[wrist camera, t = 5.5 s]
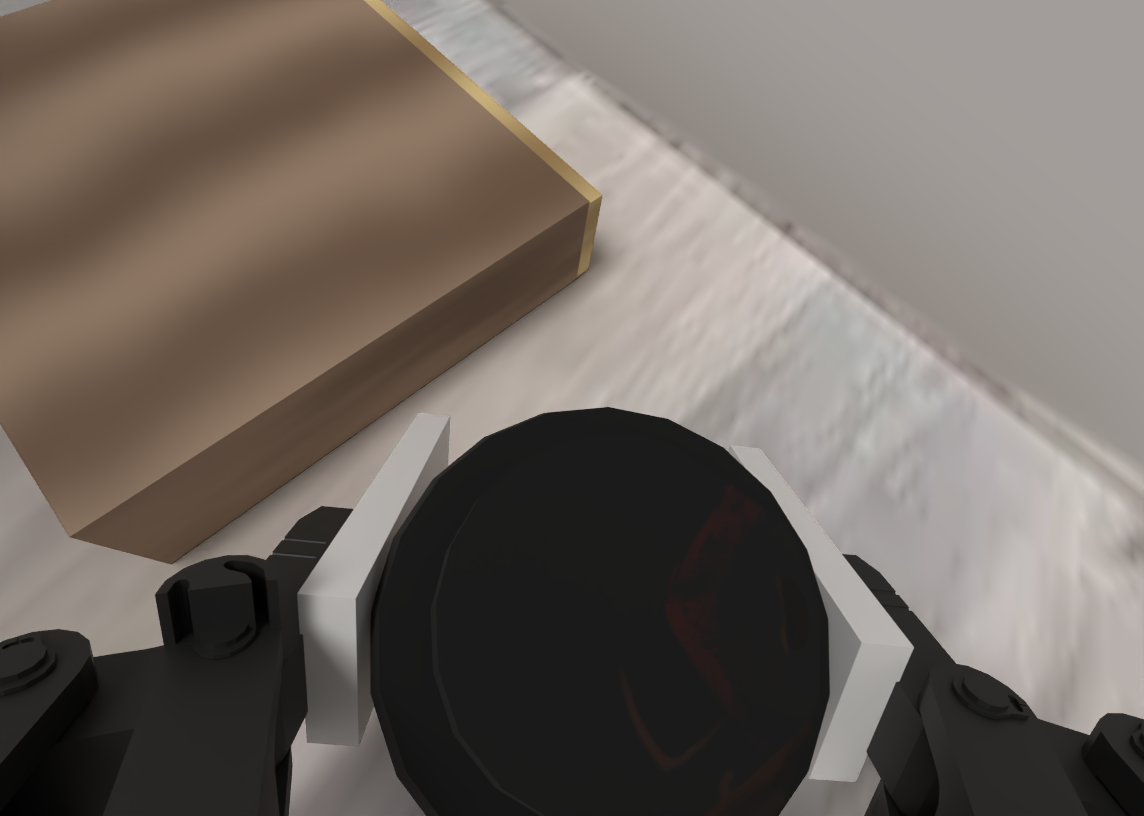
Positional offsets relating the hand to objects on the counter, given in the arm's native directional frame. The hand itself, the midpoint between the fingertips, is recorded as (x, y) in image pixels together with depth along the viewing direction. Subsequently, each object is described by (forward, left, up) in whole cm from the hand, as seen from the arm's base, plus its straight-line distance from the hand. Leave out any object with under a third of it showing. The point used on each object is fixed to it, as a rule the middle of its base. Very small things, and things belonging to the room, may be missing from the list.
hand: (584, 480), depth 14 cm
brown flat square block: (-16, -2, -4) cm, 16 cm away
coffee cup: (+2, -3, -4) cm, 6 cm away
